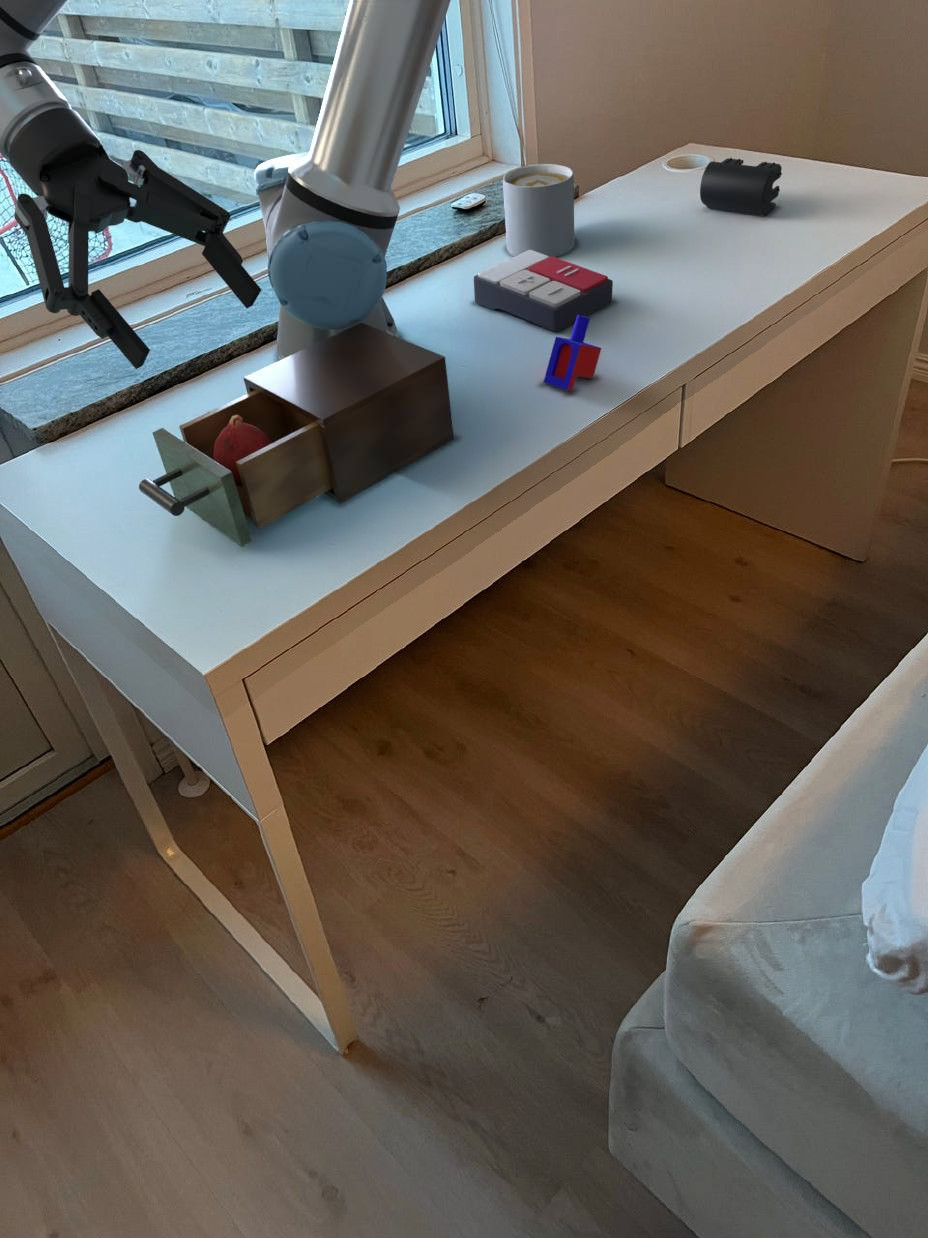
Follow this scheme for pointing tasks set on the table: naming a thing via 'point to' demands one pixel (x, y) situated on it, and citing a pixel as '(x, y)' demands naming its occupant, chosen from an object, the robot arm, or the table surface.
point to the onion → (238, 445)
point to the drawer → (242, 467)
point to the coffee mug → (539, 209)
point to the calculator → (542, 289)
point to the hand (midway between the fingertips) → (201, 328)
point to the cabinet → (365, 402)
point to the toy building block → (572, 357)
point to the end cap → (740, 186)
